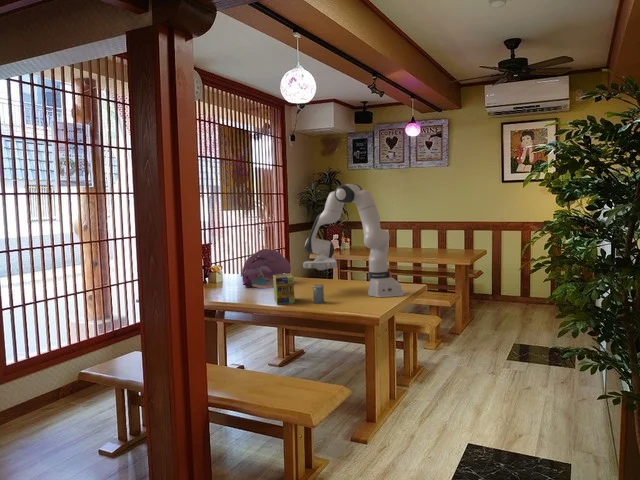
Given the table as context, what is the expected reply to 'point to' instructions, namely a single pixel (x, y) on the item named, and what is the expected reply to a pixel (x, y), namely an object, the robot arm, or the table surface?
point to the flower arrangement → (264, 268)
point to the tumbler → (318, 293)
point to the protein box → (283, 289)
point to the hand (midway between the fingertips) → (319, 266)
